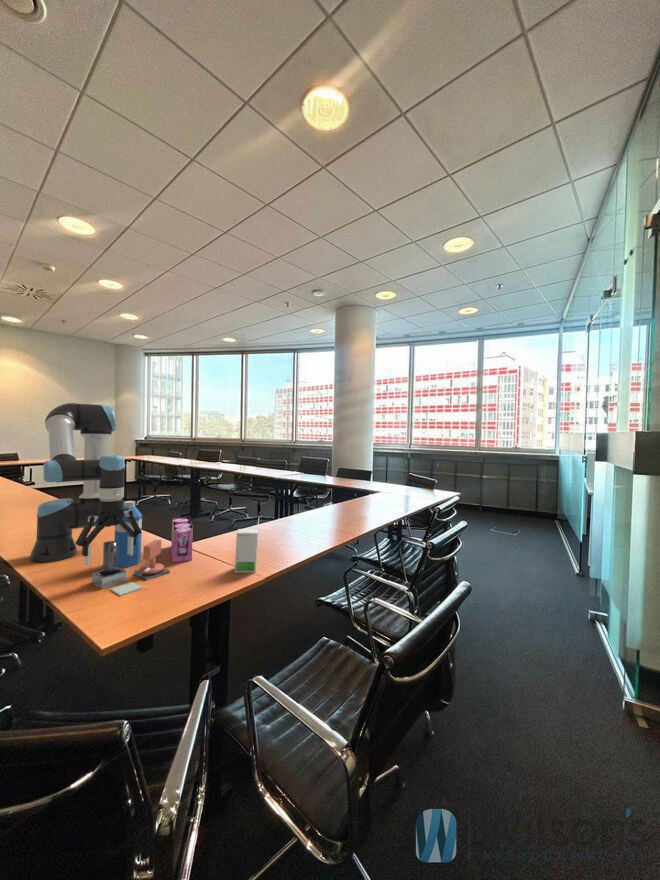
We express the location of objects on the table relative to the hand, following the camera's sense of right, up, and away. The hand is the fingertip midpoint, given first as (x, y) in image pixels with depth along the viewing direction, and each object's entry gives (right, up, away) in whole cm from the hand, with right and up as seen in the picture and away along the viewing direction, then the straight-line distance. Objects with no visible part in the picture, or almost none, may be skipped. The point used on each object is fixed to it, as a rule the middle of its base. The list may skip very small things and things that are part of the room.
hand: (110, 559), depth 121 cm
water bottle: (-4, -8, +18) cm, 20 cm away
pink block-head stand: (+10, -7, +8) cm, 15 cm away
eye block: (0, -8, 0) cm, 8 cm away
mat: (+9, -8, -5) cm, 13 cm away
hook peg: (0, -8, 0) cm, 8 cm away
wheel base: (+10, -8, +9) cm, 16 cm away
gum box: (+11, -8, +32) cm, 35 cm away
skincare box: (+44, -10, +15) cm, 48 cm away
